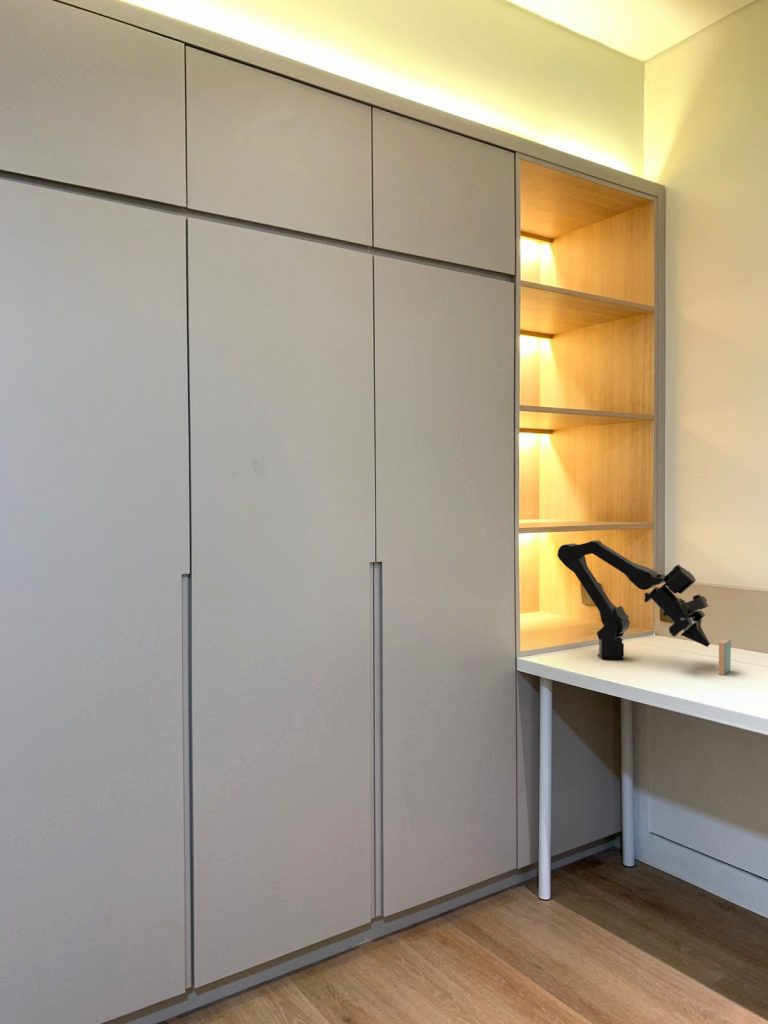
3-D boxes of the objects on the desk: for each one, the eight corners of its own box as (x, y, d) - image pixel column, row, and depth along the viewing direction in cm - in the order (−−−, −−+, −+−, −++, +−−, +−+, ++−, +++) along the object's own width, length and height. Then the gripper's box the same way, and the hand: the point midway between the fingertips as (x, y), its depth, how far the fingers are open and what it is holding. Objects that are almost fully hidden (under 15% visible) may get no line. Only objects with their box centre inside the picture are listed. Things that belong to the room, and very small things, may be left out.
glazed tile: (718, 674, 217) (719, 642, 217) (724, 669, 223) (724, 638, 223) (724, 675, 216) (725, 643, 216) (730, 670, 222) (731, 639, 222)
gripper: (681, 589, 217) (722, 633, 211) (698, 583, 232) (737, 623, 226) (652, 614, 222) (692, 657, 216) (671, 606, 237) (708, 646, 231)
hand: (708, 645), depth 222 cm, fingers closed
